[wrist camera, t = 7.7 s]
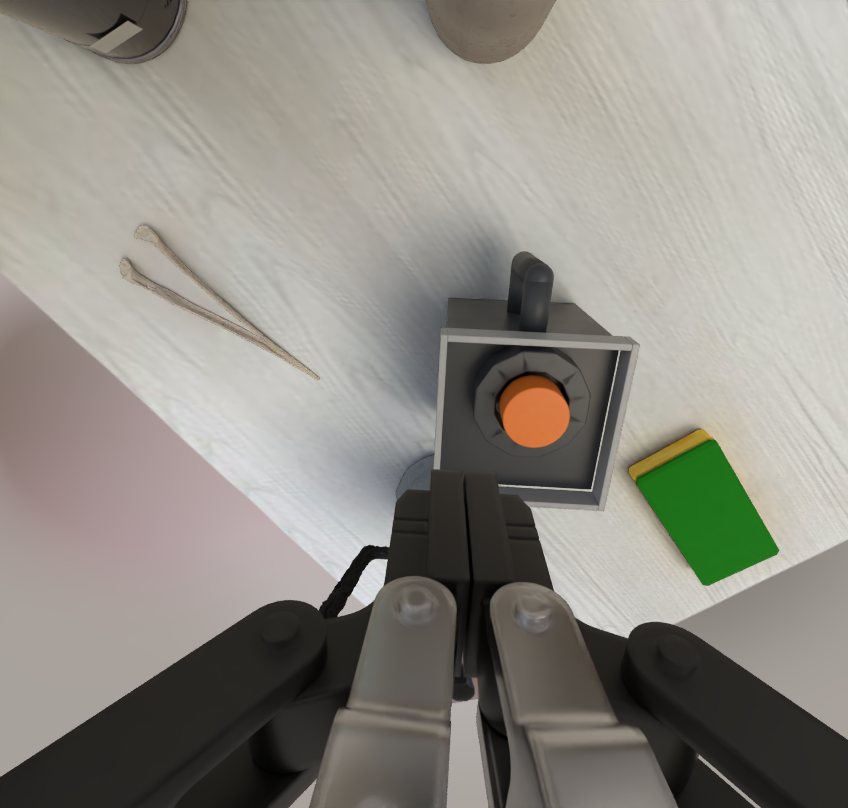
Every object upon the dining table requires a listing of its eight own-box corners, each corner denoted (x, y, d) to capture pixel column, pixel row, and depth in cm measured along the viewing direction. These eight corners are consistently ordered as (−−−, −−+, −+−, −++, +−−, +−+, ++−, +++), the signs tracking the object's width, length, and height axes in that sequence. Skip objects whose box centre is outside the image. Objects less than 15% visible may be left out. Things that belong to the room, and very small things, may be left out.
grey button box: (441, 413, 43) (438, 498, 31) (447, 297, 39) (447, 342, 27) (557, 419, 43) (599, 507, 31) (575, 303, 39) (632, 352, 27)
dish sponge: (701, 426, 42) (716, 439, 40) (765, 536, 46) (781, 553, 44) (625, 467, 44) (635, 482, 42) (693, 570, 48) (705, 588, 46)
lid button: (496, 430, 29) (499, 446, 27) (502, 373, 28) (506, 385, 26) (557, 433, 29) (564, 450, 27) (566, 376, 28) (575, 389, 26)
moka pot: (518, 541, 48) (561, 759, 29) (359, 531, 48) (303, 739, 30) (530, 454, 44) (589, 640, 26) (358, 444, 44) (293, 620, 26)
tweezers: (121, 269, 39) (107, 274, 38) (147, 220, 38) (134, 222, 36) (307, 392, 44) (302, 401, 42) (337, 352, 43) (333, 360, 41)
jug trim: (435, 433, 40) (431, 501, 31) (445, 246, 34) (444, 264, 26) (569, 441, 40) (604, 511, 31) (601, 254, 34) (655, 274, 25)
